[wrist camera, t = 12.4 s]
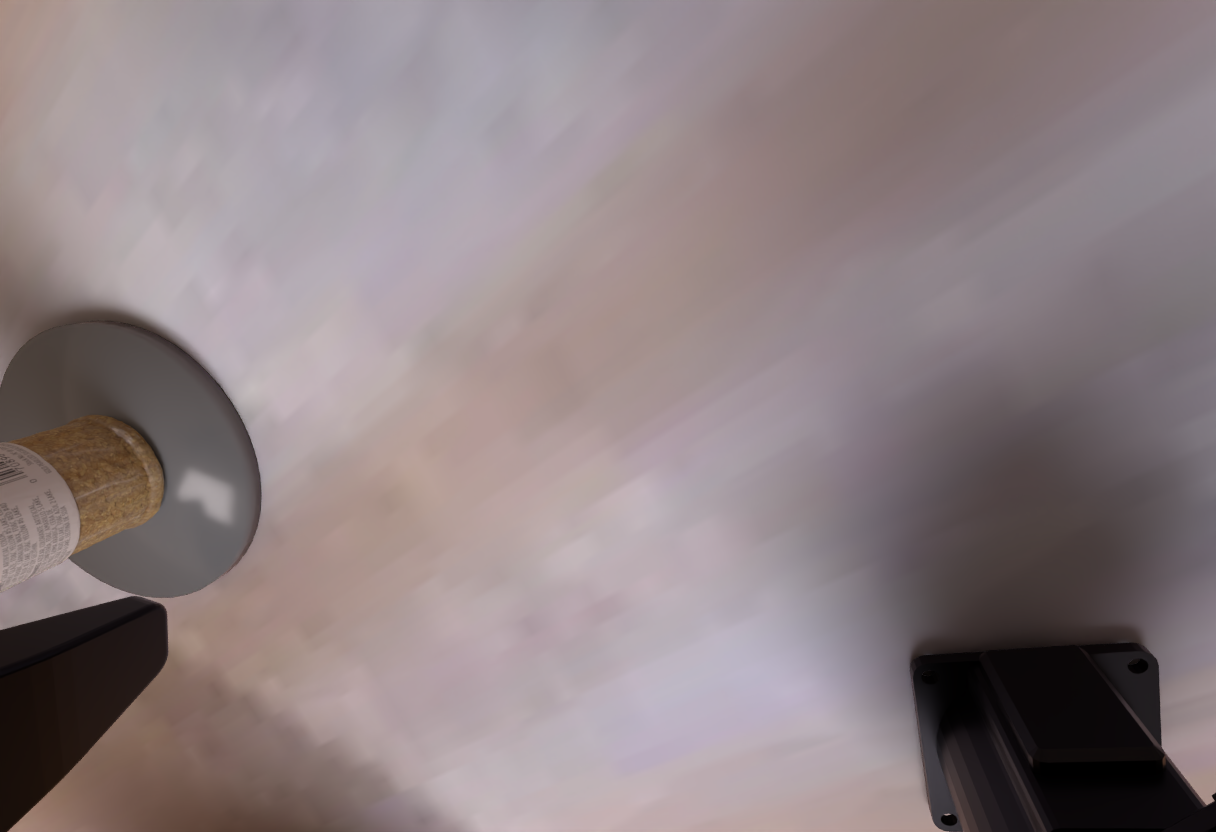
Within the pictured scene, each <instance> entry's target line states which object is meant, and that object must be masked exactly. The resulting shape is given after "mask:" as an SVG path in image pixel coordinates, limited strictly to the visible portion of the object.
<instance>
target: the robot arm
mask: <svg viewBox="0 0 1216 832" xmlns="http://www.w3.org/2000/svg"><path fill="white" fill-rule="evenodd" d="M167 657H168V625H167V611H166V609H165V607H164V606H163V605H162V604H160V603H157V602H154V601H151V600H148V599H145V598H142V597H137V596H131V597H127V598H123V599H119V600H115V601H111V602H107V603H103V604H100V605H96V606H92V607H88V608H84V609H80V610H76V611H72V612H69V613H65V614H61V615H57V616H53V617H49V618H45V619H42V620H38V621H34V622H30V623H26V624H22V625H18V626H15V627H11V628H7V629H3V630H0V832H7V831H9V830H10V829H11V828H12V827H13V826H14V825H15V824H16V823H17V822H18V821H19V820H20V819H21V818H22V817H23V816H24V815H25V814H26V813H27V812H29V811H30V810H31V809H32V808H33V807H34V806H35V805H36V804H37V803H38V802H39V801H40V800H41V799H42V798H43V797H44V796H45V795H46V794H47V793H48V792H50V791H51V790H52V789H53V788H54V787H55V786H56V785H57V784H58V783H59V782H60V781H61V780H62V779H63V778H64V777H65V776H66V775H67V774H68V772H69V771H70V770H71V769H72V768H73V767H74V766H75V765H76V764H77V763H78V762H79V761H80V760H81V759H82V758H83V757H84V755H85V754H86V753H87V752H88V751H89V750H90V749H91V748H92V747H93V746H94V744H95V743H96V742H97V741H98V740H99V739H100V738H101V737H102V736H103V734H104V733H105V732H106V731H107V730H108V729H109V728H110V727H111V726H112V724H113V723H114V722H115V721H116V720H117V719H118V718H119V717H120V716H121V715H122V713H123V712H124V711H125V710H126V709H127V708H128V707H129V706H130V705H131V703H132V702H133V701H134V700H135V699H136V698H137V697H138V696H139V695H140V694H141V692H142V691H143V690H144V689H145V688H146V687H147V686H148V685H149V684H150V682H151V681H152V680H153V679H154V678H155V677H156V676H157V675H158V673H159V672H160V671H161V669H162V668H163V666H164V664H165V662H166V660H167ZM1137 658H1138V659H1140V661H1139V662H1137V663H1136V664H1133V665H1128V663H1129V662H1130V661H1132V660H1134V659H1137ZM928 670H931V671H935V673H934V674H933V675H930V676H925V675H922V674H923V673H924V672H925V671H928ZM910 674H911V681H912V688H913V695H914V702H915V709H916V716H917V724H918V731H919V738H920V745H921V752H922V759H923V766H924V773H925V780H926V787H927V794H928V802H929V809H930V812H931V816H932V819H933V822H934V824H935V825H936V826H937V827H938V828H939V829H941V830H944V831H949V832H1216V793H1215V794H1213V795H1212V797H1213V799H1214V802H1212V803H1210V804H1208V805H1207V806H1206V804H1205V803H1204V802H1203V800H1202V799H1201V798H1200V797H1199V795H1198V794H1197V793H1196V792H1195V790H1194V789H1193V788H1192V786H1191V785H1190V784H1189V783H1188V781H1187V780H1186V779H1185V777H1184V776H1183V775H1182V774H1181V772H1180V771H1179V770H1178V768H1177V767H1176V766H1175V765H1174V763H1173V762H1172V761H1171V759H1170V758H1169V757H1168V756H1167V754H1166V753H1165V752H1164V750H1163V749H1162V747H1161V720H1160V692H1159V665H1158V662H1157V659H1156V658H1155V657H1154V656H1153V655H1152V654H1151V653H1150V652H1149V651H1148V650H1147V649H1146V648H1145V647H1144V646H1143V645H1140V644H1138V643H1116V644H1100V645H1084V646H1075V645H1071V646H1055V647H1039V648H1023V649H1007V650H991V651H986V652H971V653H955V654H939V655H924V656H920V657H918V658H916V659H914V660H913V662H912V663H911V665H910ZM948 813H949V814H951V815H947V816H946V815H944V814H948Z"/></svg>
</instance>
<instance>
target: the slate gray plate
mask: <svg viewBox="0 0 1216 832" xmlns="http://www.w3.org/2000/svg"><path fill="white" fill-rule="evenodd" d="M87 415H102V416H108V417H112V418H114V419H116V420H118V421H122V422H123V423H125V424H127V425H129V426H131V427H132V428H133V429H135V430H136V431H137V432H138V433H139V434H140V435H141V436H142V437H143V438H144V440H145V441H146V442H147V443H148V444H149V445H150V446H151V448H152V450H153V451H154V454H155V456H156V458H157V459H158V461H159V463H160V465H161V468H162V470H163V478H164V494H163V498H162V501H161V506H160V509H159V511H158V512H157V513H156V514H155V515H154V516H153V517H152V518H151V519H149V520H148V521H147V522H145V523H144V524H142V525H139V526H137V527H135V528H130V529H125V530H123V531H121V532H119V533H117V534H115V535H113V536H110V537H108V538H106V539H105V540H102V541H100V542H98V543H96V544H94V545H92V546H90V547H88V548H86V549H84V550H82V551H80V552H77V553H75V554H73V555H71V556H70V557H68V558H69V559H70V560H71V561H72V562H74V563H75V564H76V565H78V566H79V567H80V568H81V569H83V570H84V571H86V572H87V573H89V574H90V575H92V576H94V577H95V578H97V579H99V580H100V581H102V582H104V583H106V584H108V585H111V586H113V587H115V588H117V589H120V590H123V591H126V592H128V593H132V594H136V595H141V596H145V597H155V598H170V597H178V596H183V595H188V594H190V593H193V592H196V591H198V590H201V589H202V588H204V587H206V586H207V585H209V584H211V583H212V582H214V581H215V580H217V579H218V578H220V577H221V576H223V575H224V574H226V573H227V572H228V571H230V570H231V569H232V568H233V567H234V566H235V565H236V564H237V563H238V562H239V561H240V560H241V558H242V557H243V556H244V555H245V553H246V552H247V550H248V548H249V546H250V544H251V542H252V541H253V538H254V535H255V532H256V529H257V526H258V521H259V516H260V509H261V486H260V475H259V471H258V466H257V461H256V457H255V454H254V451H253V447H252V444H251V441H250V439H249V436H248V434H247V432H246V430H245V427H244V425H243V423H242V421H241V419H240V417H239V416H238V414H237V412H236V410H235V409H234V407H233V405H232V403H231V402H230V401H229V399H228V398H227V396H226V395H225V394H224V392H223V391H222V389H221V388H220V387H219V386H218V384H217V383H216V382H215V381H214V380H213V379H212V378H211V376H210V375H209V374H208V373H207V372H206V371H205V370H204V369H203V368H202V367H201V366H200V365H199V364H198V363H197V362H196V361H194V360H193V359H192V358H191V357H190V356H189V355H187V354H186V353H185V352H183V351H182V350H181V349H179V348H178V347H177V346H175V345H174V344H172V343H170V342H168V341H167V340H165V339H163V338H162V337H160V336H158V335H156V334H154V333H151V332H149V331H147V330H145V329H142V328H139V327H136V326H132V325H129V324H125V323H119V322H112V321H90V322H83V323H77V324H70V325H65V326H59V327H55V328H52V329H49V330H47V331H44V332H42V333H40V334H39V335H37V336H35V337H34V338H32V339H31V340H29V341H28V342H27V343H26V344H25V345H24V346H23V347H22V348H21V349H20V350H19V351H18V352H17V354H16V355H15V356H14V358H13V359H12V360H11V362H10V364H9V366H8V368H7V370H6V372H5V374H4V377H3V381H2V384H1V387H0V443H2V442H9V441H13V440H17V439H21V438H24V437H28V436H31V435H34V434H36V433H40V432H43V431H48V430H51V429H55V428H58V427H61V426H64V425H66V424H68V423H69V422H70V421H72V420H74V419H78V418H80V417H83V416H87Z"/></svg>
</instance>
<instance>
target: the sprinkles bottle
mask: <svg viewBox="0 0 1216 832" xmlns="http://www.w3.org/2000/svg"><path fill="white" fill-rule="evenodd" d="M163 494H164V478H163V470H162V468H161V465H160V463H159V461H158V459H157V458H156V456H155V454H154V451H153V450H152V448H151V446H150V445H149V444H148V443H147V442H146V441H145V440H144V438H143V437H142V436H141V435H140V434H139V433H138V432H137V431H136V430H135V429H133V428H132V427H131V426H129V425H127V424H125V423H123V422H122V421H118V420H116V419H114V418H112V417H108V416H102V415H87V416H83V417H80V418H78V419H74V420H72V421H70V422H69V423H68V424H66V425H64V426H61V427H58V428H55V429H51V430H48V431H43V432H40V433H36V434H34V435H31V436H28V437H24V438H21V439H17V440H13V441H9V442H2V443H0V593H1V592H3V591H5V590H7V589H9V588H11V587H13V586H15V585H17V584H19V583H21V582H23V581H25V580H27V579H29V578H31V577H33V576H36V575H38V574H40V573H42V572H44V571H46V570H48V569H50V568H52V567H54V566H56V565H58V564H60V563H62V562H63V561H65V560H66V559H67V558H68V557H70V556H71V555H73V554H75V553H77V552H80V551H82V550H84V549H86V548H88V547H90V546H92V545H94V544H96V543H98V542H100V541H102V540H105V539H106V538H108V537H110V536H113V535H115V534H117V533H119V532H121V531H123V530H125V529H130V528H135V527H137V526H139V525H142V524H144V523H145V522H147V521H148V520H149V519H151V518H152V517H153V516H154V515H155V514H156V513H157V512H158V511H159V509H160V506H161V501H162V498H163Z"/></svg>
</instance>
